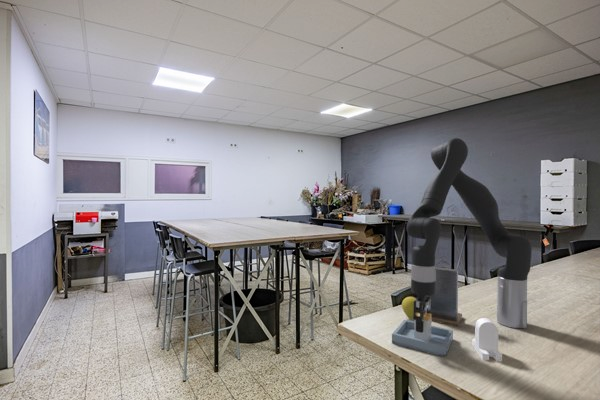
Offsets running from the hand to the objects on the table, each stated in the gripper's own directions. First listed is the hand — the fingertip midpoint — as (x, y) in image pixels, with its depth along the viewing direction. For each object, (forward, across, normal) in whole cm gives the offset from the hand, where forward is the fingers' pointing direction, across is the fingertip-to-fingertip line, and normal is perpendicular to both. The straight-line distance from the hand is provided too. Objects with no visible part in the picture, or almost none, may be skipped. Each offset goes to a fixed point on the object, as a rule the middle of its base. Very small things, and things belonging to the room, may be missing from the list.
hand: (422, 327), depth 106 cm
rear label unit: (+5, +24, 0) cm, 24 cm away
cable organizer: (+5, +3, -18) cm, 19 cm away
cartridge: (+4, 0, 0) cm, 4 cm away
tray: (+5, 0, 0) cm, 5 cm away
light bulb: (+5, +12, +7) cm, 15 cm away
